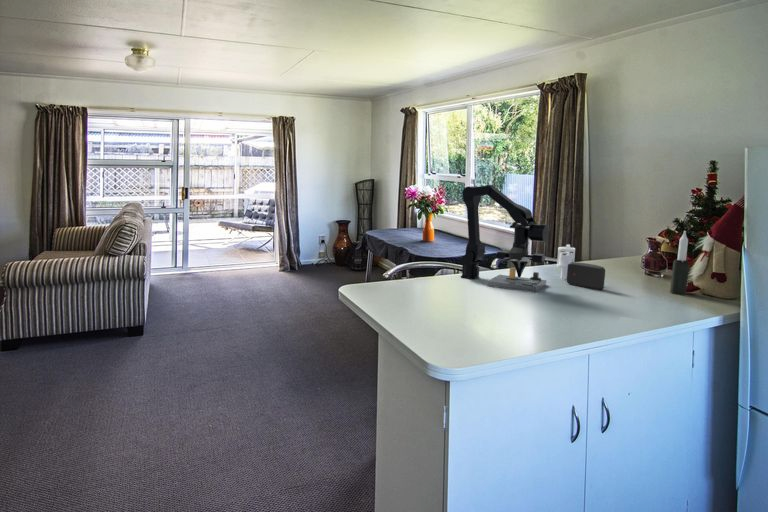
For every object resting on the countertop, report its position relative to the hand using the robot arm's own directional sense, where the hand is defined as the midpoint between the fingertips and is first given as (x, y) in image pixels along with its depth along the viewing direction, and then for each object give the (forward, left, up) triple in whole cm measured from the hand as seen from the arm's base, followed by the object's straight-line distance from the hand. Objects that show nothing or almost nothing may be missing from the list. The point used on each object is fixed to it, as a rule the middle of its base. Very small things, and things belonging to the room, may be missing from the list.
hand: (519, 277), depth 219 cm
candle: (+57, +24, -4) cm, 62 cm away
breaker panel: (-1, 0, -4) cm, 4 cm away
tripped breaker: (-3, 0, -1) cm, 3 cm away
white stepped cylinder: (+13, +25, -4) cm, 28 cm away
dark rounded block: (+23, +14, -4) cm, 27 cm away
